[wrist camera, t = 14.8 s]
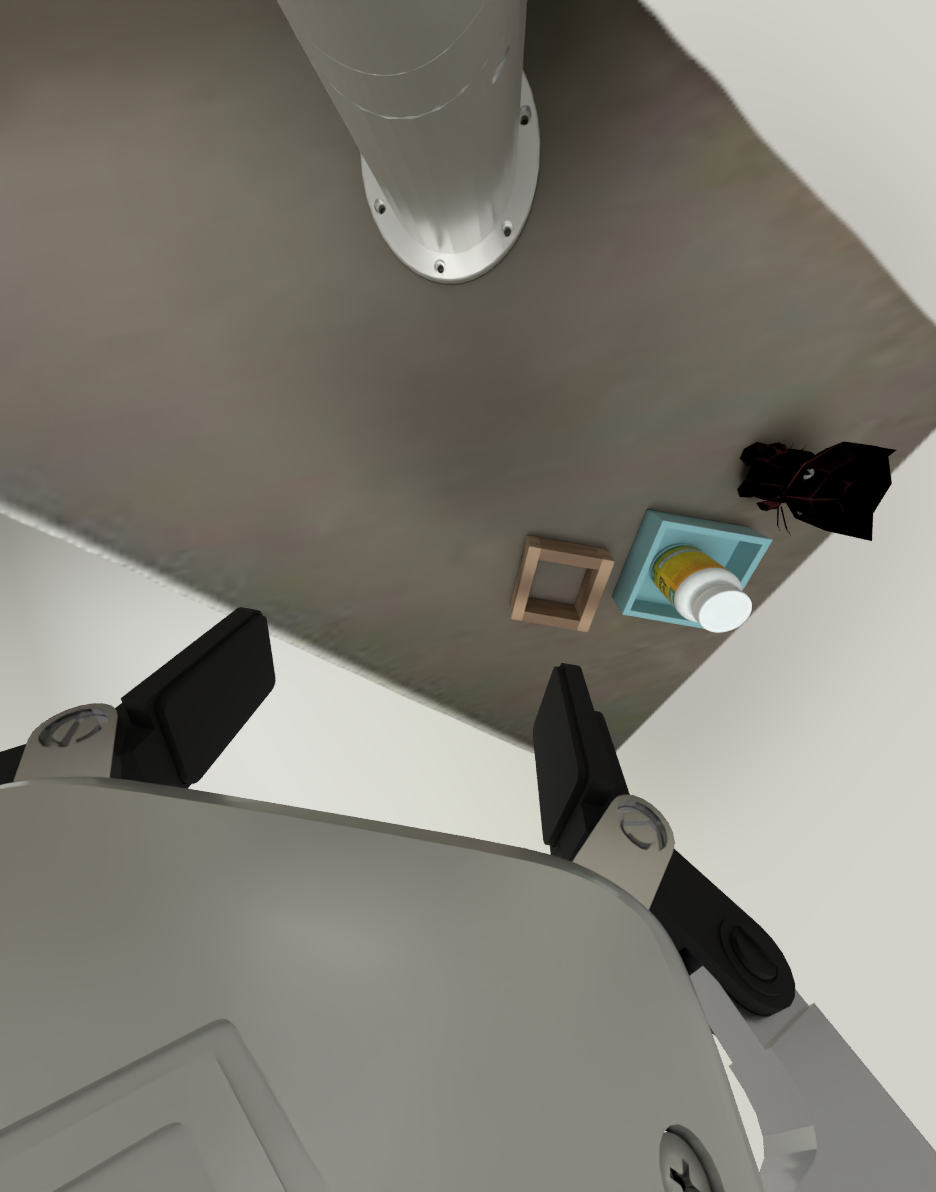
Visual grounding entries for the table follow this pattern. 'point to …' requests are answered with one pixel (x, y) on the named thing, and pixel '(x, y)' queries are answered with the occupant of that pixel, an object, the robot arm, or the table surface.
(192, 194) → the table surface
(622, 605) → the tray
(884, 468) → the cat figurine
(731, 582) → the supplement bottle
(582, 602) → the hollow wooden block
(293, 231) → the table surface
